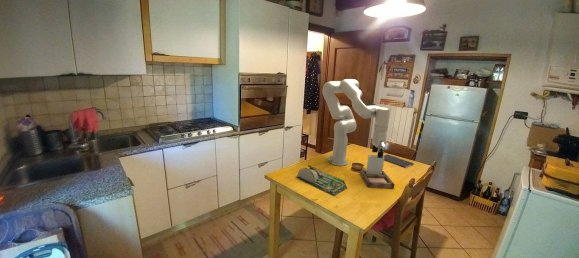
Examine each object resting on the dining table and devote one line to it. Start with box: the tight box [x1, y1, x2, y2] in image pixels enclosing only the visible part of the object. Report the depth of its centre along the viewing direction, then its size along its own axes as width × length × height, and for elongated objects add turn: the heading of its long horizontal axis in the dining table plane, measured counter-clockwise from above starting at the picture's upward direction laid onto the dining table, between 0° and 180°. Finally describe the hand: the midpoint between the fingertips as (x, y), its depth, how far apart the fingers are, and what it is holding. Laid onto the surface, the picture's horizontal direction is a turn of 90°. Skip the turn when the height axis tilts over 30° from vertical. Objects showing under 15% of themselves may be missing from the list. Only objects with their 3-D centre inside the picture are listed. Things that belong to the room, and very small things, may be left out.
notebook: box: [383, 154, 414, 169], centre depth 182 cm, size 13×2×21 cm
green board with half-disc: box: [295, 164, 348, 197], centre depth 146 cm, size 33×8×20 cm
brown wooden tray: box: [359, 169, 396, 189], centre depth 147 cm, size 15×18×4 cm
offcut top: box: [368, 178, 387, 183], centre depth 144 cm, size 10×7×2 cm
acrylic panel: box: [365, 154, 385, 175], centre depth 150 cm, size 9×3×15 cm, turn 89°
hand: (377, 154), depth 148 cm, fingers open, 9 cm apart
